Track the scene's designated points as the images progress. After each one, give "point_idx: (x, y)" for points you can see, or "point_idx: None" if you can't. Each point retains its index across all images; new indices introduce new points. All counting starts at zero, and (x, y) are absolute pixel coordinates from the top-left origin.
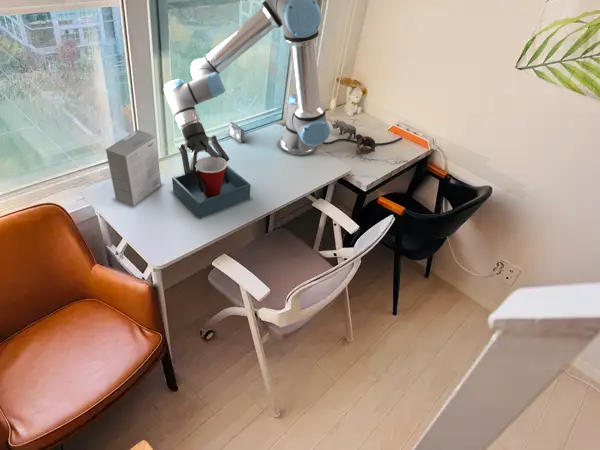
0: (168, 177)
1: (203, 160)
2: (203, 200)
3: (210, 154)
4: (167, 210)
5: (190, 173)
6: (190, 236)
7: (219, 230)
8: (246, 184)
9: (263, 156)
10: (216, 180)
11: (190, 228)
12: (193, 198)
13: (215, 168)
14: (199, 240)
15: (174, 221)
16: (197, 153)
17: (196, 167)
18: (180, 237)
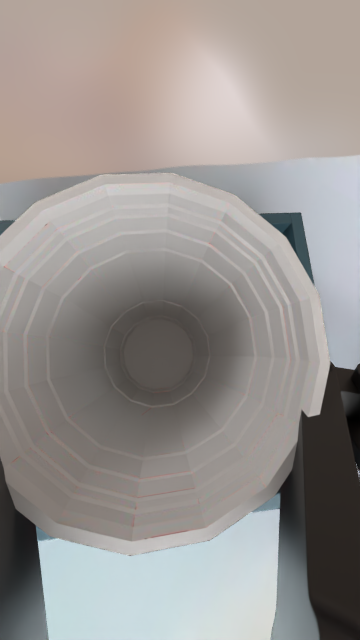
0: (271, 592)
1: (168, 503)
2: (273, 222)
3: (33, 580)
4: (346, 350)
5: (342, 368)
6: (319, 197)
7: (229, 176)
8: (1, 231)
9: None
10: (165, 262)
11: (307, 227)
12: (309, 259)
13: (86, 411)
14: (302, 170)
15: (342, 282)
16: (316, 617)
17: (324, 360)
18: (347, 207)
